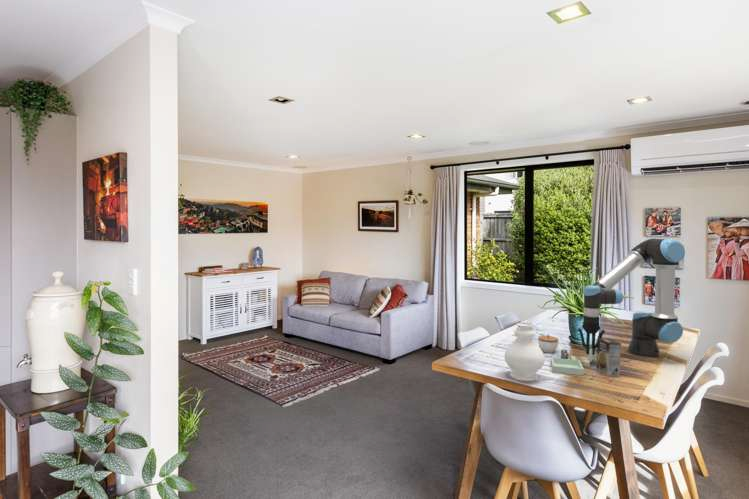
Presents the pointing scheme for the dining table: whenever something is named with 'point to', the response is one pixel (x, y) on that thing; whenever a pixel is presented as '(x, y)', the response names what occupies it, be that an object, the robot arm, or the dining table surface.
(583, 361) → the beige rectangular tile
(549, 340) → the lidded jar
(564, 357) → the bench dogs
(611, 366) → the coffee box
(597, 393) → the dining table surface
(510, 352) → the decorative vase
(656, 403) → the dining table surface
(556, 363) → the tray
